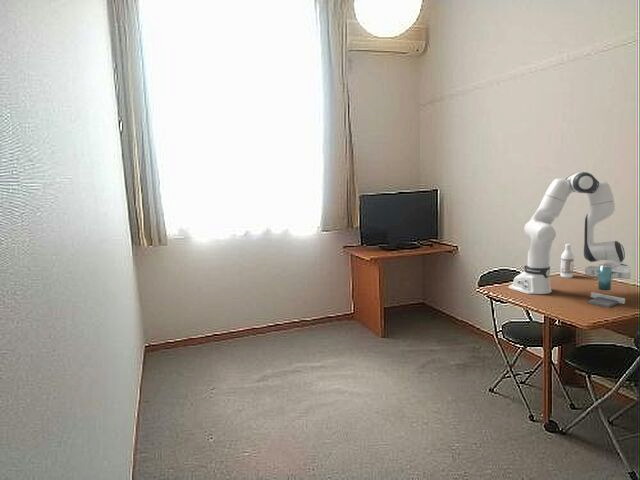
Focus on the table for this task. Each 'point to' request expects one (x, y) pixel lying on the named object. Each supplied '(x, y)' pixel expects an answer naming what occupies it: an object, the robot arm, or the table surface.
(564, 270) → the bath foam
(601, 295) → the wall
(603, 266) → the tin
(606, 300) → the coaster
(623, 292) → the table surface
